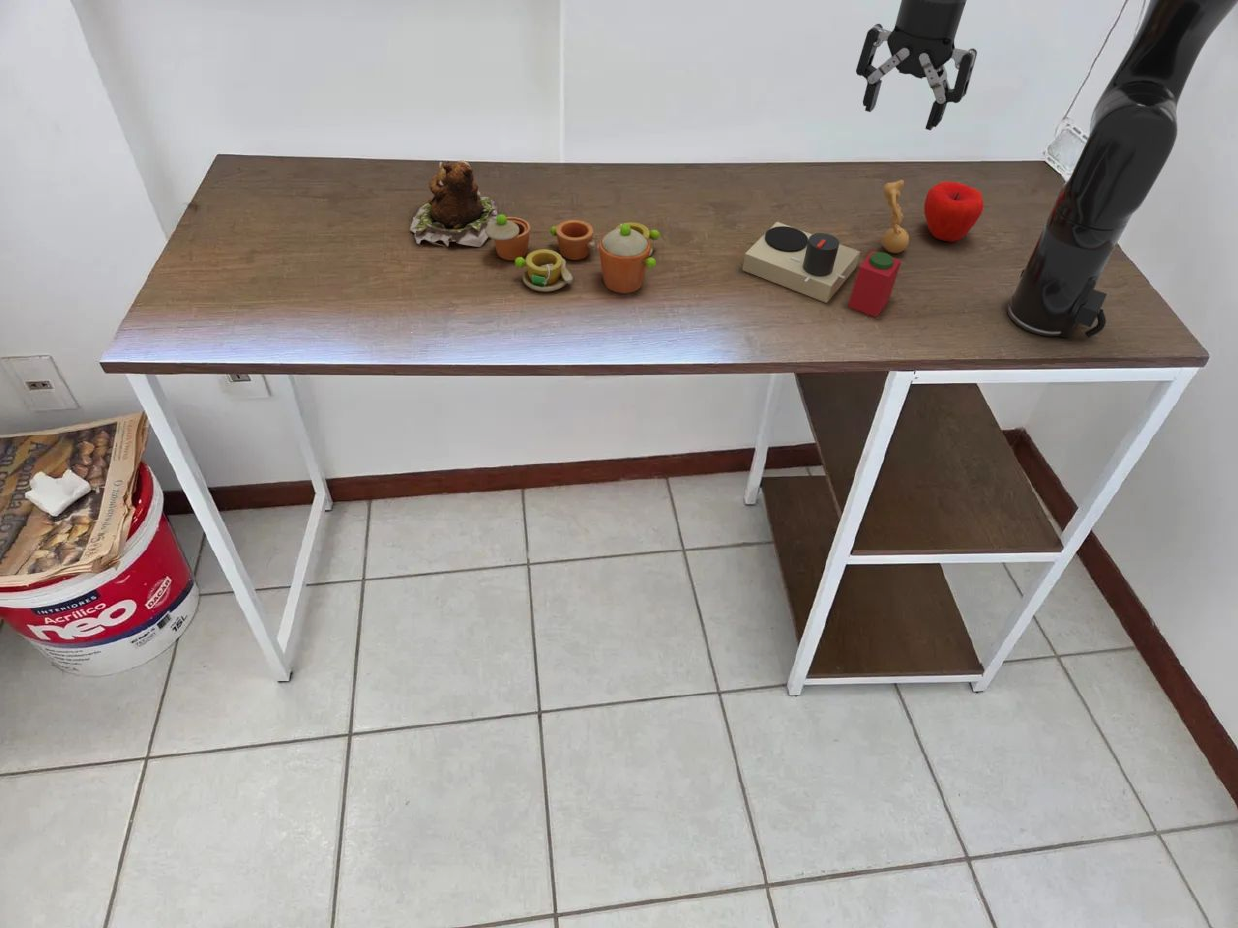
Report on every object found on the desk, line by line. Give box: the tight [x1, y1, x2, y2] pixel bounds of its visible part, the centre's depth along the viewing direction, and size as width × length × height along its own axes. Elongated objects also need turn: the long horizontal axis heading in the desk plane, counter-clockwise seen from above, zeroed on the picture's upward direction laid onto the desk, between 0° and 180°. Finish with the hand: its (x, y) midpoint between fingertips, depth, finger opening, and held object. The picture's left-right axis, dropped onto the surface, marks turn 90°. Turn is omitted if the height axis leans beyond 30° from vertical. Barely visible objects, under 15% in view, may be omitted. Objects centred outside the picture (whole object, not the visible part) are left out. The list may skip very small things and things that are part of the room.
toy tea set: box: [485, 214, 660, 294], centre depth 128 cm, size 26×16×10 cm, turn 93°
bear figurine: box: [409, 159, 499, 248], centre depth 134 cm, size 14×15×12 cm
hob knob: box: [803, 232, 840, 276], centre depth 127 cm, size 4×4×5 cm
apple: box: [923, 180, 985, 243], centre depth 139 cm, size 9×9×8 cm
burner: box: [764, 226, 808, 252], centre depth 133 cm, size 7×7×1 cm
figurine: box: [881, 179, 910, 254], centre depth 133 cm, size 8×6×12 cm
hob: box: [741, 221, 861, 304], centre depth 132 cm, size 15×12×3 cm
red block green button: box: [847, 250, 902, 318], centre depth 125 cm, size 4×5×8 cm
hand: (899, 118), depth 118 cm, fingers open, 8 cm apart
